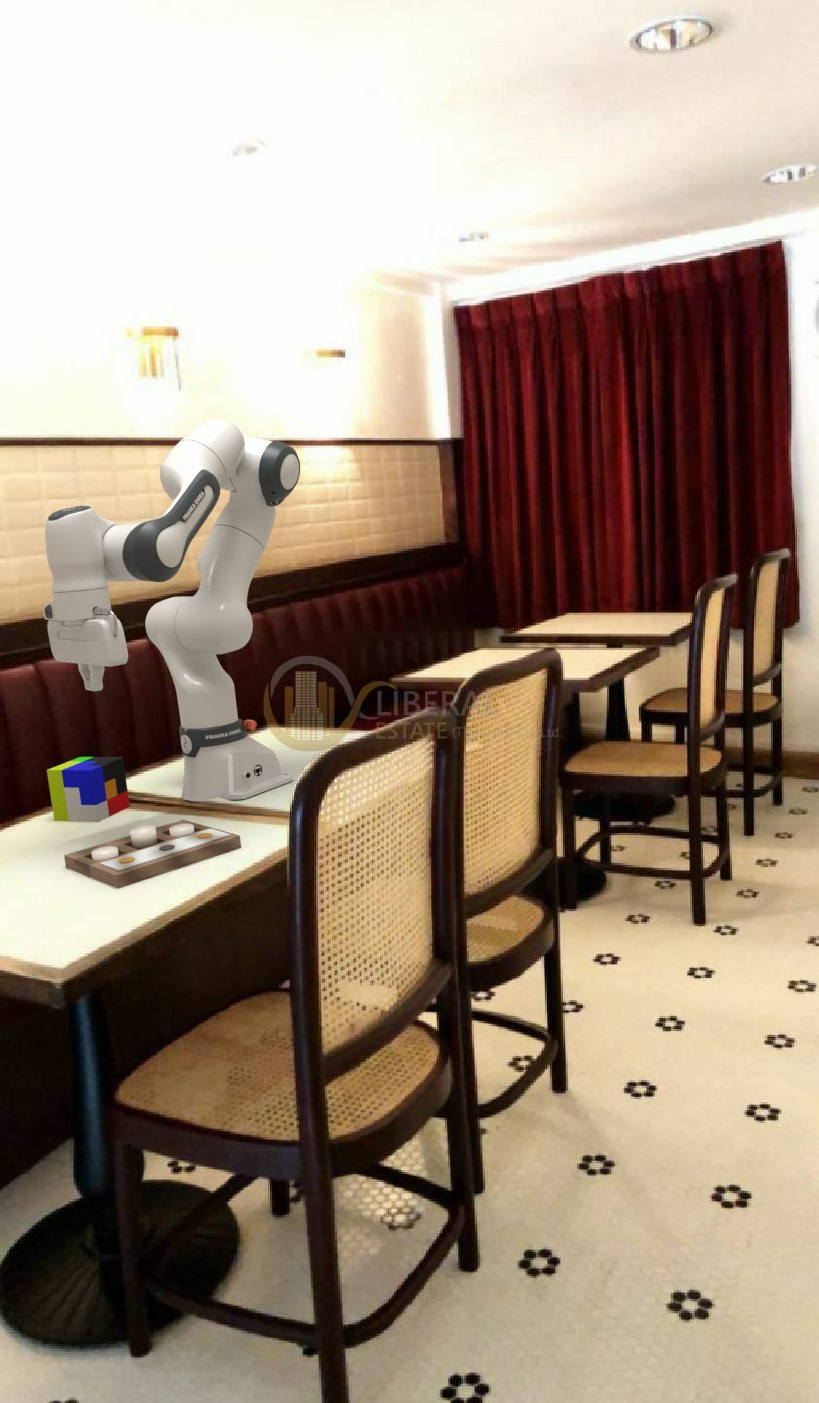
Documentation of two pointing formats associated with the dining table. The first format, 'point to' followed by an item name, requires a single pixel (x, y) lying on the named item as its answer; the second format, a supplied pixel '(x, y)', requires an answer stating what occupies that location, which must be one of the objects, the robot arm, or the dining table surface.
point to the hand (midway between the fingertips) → (94, 690)
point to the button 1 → (104, 853)
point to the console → (153, 855)
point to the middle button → (143, 836)
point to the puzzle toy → (88, 789)
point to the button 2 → (181, 830)
